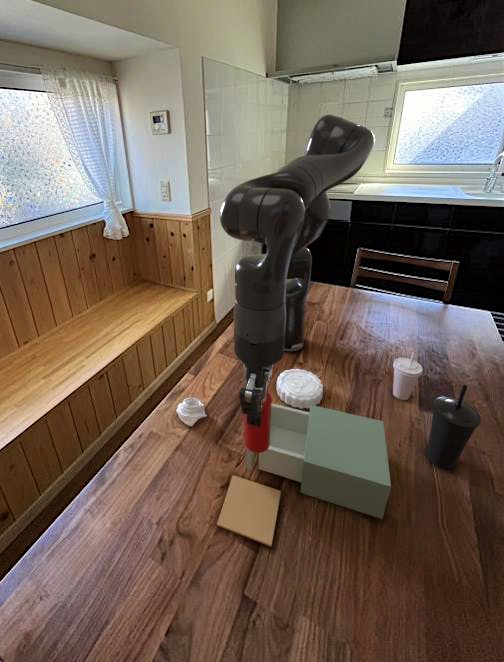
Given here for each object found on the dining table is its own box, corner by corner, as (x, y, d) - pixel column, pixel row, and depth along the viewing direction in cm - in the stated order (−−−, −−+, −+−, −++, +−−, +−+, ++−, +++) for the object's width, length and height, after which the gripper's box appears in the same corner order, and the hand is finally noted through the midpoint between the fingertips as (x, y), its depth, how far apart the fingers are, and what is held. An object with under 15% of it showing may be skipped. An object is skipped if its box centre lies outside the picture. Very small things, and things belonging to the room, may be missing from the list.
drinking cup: (411, 445, 75) (431, 374, 67) (443, 441, 75) (468, 370, 67) (436, 478, 68) (462, 403, 60) (471, 473, 68) (502, 398, 60)
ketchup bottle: (239, 442, 59) (238, 389, 54) (254, 427, 62) (255, 375, 57) (259, 457, 56) (261, 403, 51) (274, 441, 59) (277, 387, 54)
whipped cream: (172, 417, 86) (168, 403, 84) (190, 400, 90) (186, 386, 88) (194, 432, 81) (191, 417, 79) (212, 413, 85) (209, 399, 83)
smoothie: (418, 405, 85) (431, 360, 79) (391, 402, 86) (401, 358, 80) (409, 387, 90) (420, 344, 85) (384, 384, 92) (393, 342, 86)
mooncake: (291, 371, 99) (292, 361, 97) (330, 391, 91) (331, 380, 89) (267, 393, 91) (268, 382, 90) (307, 417, 83) (308, 406, 82)
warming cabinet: (300, 492, 66) (303, 461, 63) (307, 433, 79) (310, 404, 75) (382, 519, 61) (391, 486, 58) (376, 451, 74) (383, 421, 70)
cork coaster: (217, 525, 62) (216, 524, 61) (232, 476, 70) (232, 474, 70) (271, 547, 58) (271, 545, 58) (281, 492, 67) (281, 490, 66)
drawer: (240, 467, 71) (240, 443, 68) (255, 419, 82) (255, 396, 79) (313, 490, 66) (316, 465, 63) (317, 435, 77) (320, 412, 74)
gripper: (246, 300, 56) (246, 379, 63) (219, 349, 44) (222, 441, 51) (292, 306, 54) (286, 388, 61) (276, 360, 42) (272, 456, 49)
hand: (257, 412), depth 56 cm, fingers closed on ketchup bottle, 4 cm apart
